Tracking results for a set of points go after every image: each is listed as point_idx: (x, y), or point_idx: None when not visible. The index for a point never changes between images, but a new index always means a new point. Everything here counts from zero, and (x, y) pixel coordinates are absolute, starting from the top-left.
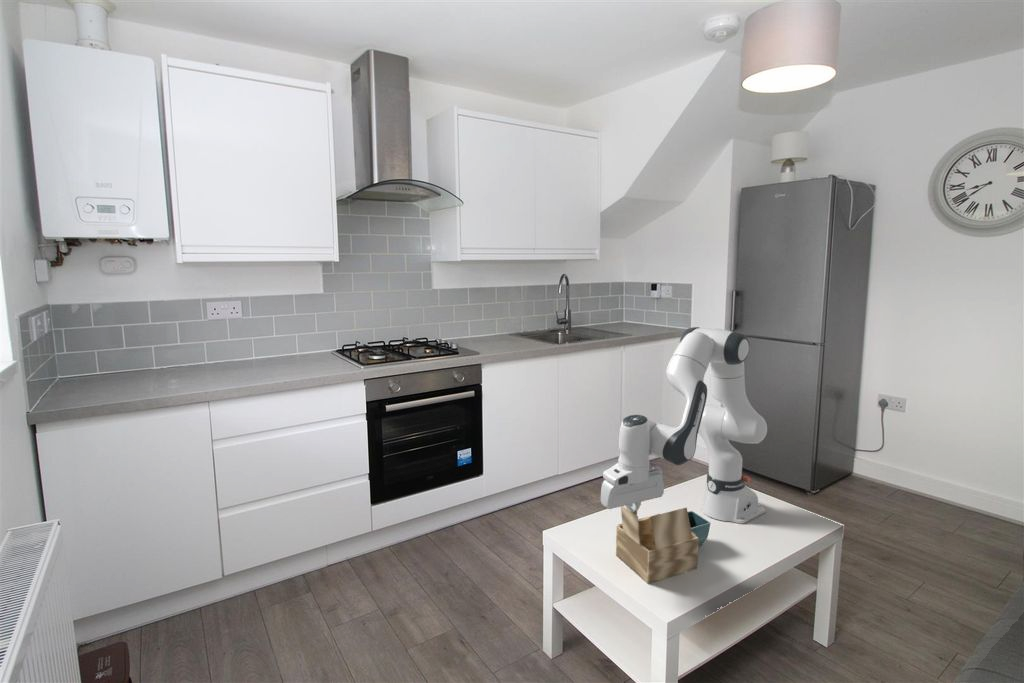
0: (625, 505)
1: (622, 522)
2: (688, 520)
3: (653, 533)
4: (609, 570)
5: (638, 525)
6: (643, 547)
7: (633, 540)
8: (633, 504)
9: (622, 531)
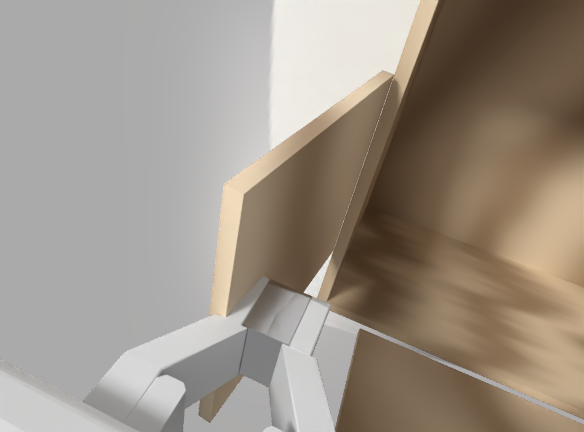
0: (139, 352)
1: (348, 99)
2: None
3: (346, 383)
4: (307, 26)
5: None
6: (328, 268)
7: (358, 183)
8: (293, 396)
9: (406, 44)
